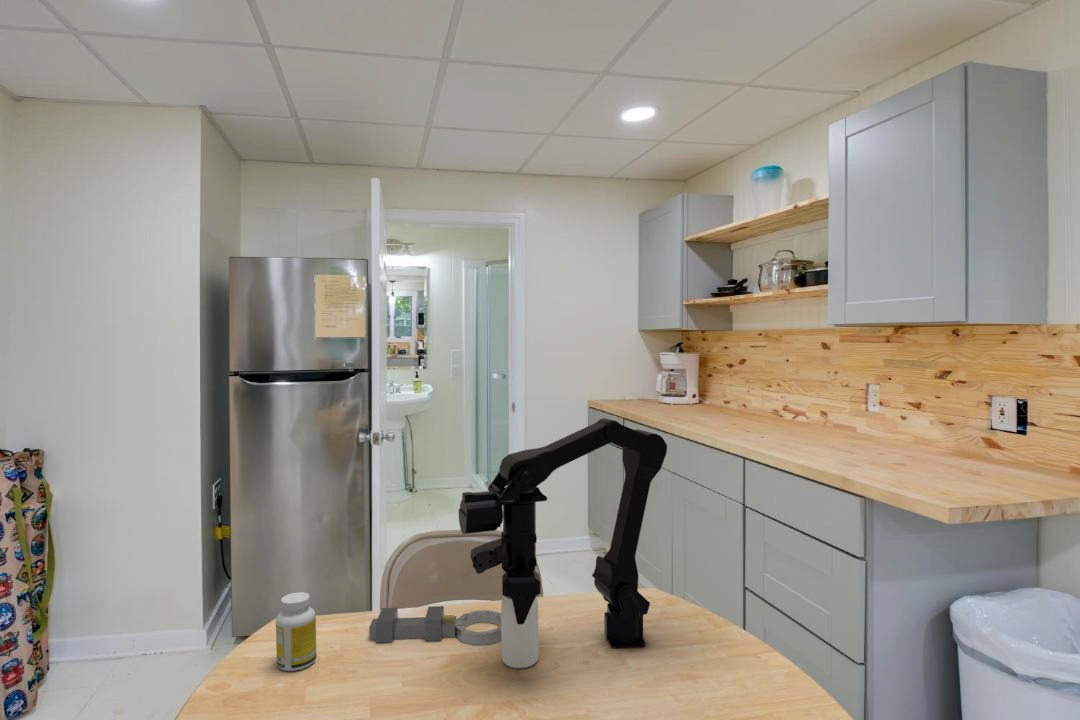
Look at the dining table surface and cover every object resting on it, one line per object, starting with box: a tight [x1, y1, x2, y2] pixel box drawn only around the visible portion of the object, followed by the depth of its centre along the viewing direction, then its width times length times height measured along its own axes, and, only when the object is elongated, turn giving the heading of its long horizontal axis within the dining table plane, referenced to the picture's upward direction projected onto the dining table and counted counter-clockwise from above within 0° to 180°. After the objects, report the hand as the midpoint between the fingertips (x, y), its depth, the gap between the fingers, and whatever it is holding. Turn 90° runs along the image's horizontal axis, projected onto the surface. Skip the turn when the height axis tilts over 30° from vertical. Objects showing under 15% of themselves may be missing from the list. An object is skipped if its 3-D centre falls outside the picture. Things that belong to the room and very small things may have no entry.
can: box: [500, 595, 539, 670], centre depth 107 cm, size 6×6×12 cm
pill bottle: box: [275, 591, 317, 672], centre depth 107 cm, size 6×6×12 cm
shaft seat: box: [368, 605, 501, 646], centre depth 117 cm, size 26×10×4 cm, turn 94°
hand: (519, 615), depth 107 cm, fingers closed on can, 6 cm apart
